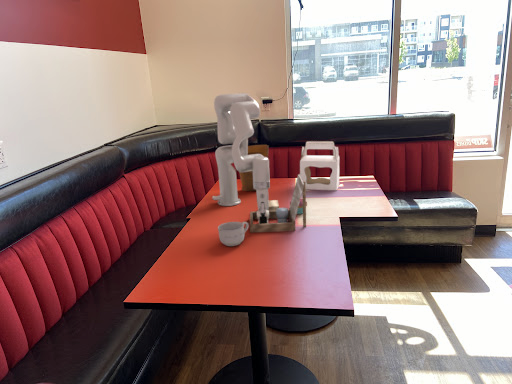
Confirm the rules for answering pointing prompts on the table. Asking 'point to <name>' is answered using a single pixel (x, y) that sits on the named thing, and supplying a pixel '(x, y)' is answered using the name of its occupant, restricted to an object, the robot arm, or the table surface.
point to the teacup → (232, 233)
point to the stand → (273, 205)
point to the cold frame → (292, 212)
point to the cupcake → (300, 207)
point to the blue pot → (282, 215)
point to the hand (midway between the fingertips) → (263, 221)
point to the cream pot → (259, 215)
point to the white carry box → (320, 166)
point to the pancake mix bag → (248, 176)
